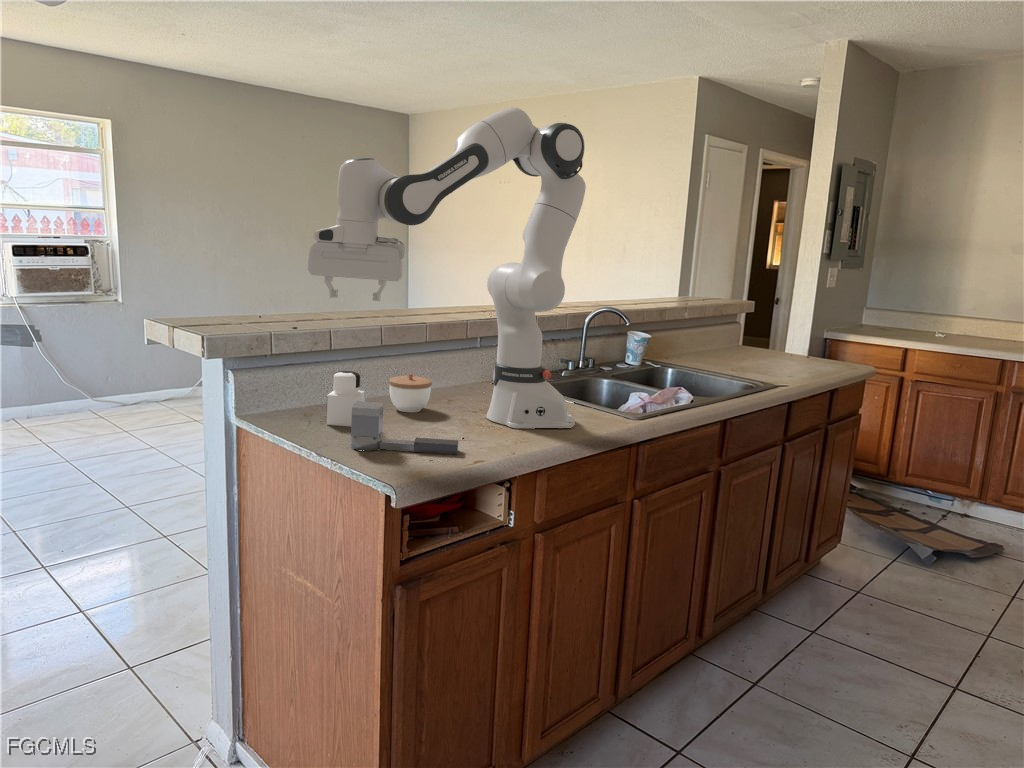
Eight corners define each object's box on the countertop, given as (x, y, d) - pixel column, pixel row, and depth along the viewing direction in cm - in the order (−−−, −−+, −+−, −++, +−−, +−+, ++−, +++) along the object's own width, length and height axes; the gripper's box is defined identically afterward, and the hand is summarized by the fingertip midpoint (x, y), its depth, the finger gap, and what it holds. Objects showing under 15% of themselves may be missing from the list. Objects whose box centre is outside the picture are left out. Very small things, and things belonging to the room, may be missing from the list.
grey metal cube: (382, 430, 146) (383, 402, 144) (378, 437, 140) (379, 409, 139) (356, 428, 145) (357, 401, 144) (351, 435, 140) (351, 407, 139)
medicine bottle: (334, 417, 164) (335, 368, 162) (364, 419, 164) (366, 370, 162) (325, 425, 157) (326, 373, 155) (356, 427, 157) (358, 376, 155)
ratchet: (458, 448, 147) (460, 416, 146) (456, 457, 141) (458, 424, 140) (353, 441, 146) (354, 409, 145) (347, 450, 140) (348, 417, 139)
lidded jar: (382, 412, 172) (384, 375, 170) (394, 403, 183) (396, 368, 181) (424, 416, 171) (426, 379, 169) (434, 407, 182) (436, 372, 180)
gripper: (406, 239, 153) (404, 301, 155) (313, 232, 152) (312, 294, 155) (403, 238, 146) (400, 303, 149) (306, 231, 146) (305, 297, 148)
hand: (355, 299), depth 152 cm, fingers open, 8 cm apart
